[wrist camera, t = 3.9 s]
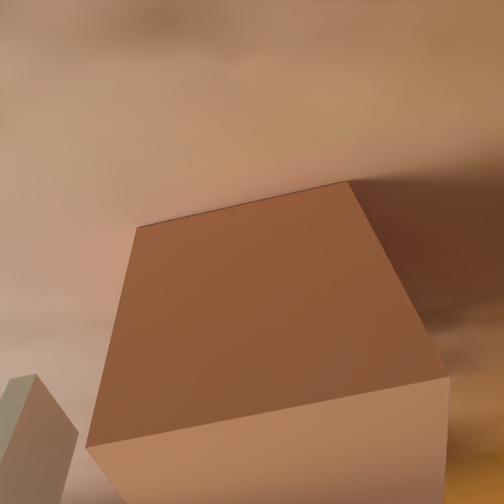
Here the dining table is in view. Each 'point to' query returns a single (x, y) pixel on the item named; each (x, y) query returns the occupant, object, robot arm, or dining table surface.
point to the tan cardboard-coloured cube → (270, 364)
